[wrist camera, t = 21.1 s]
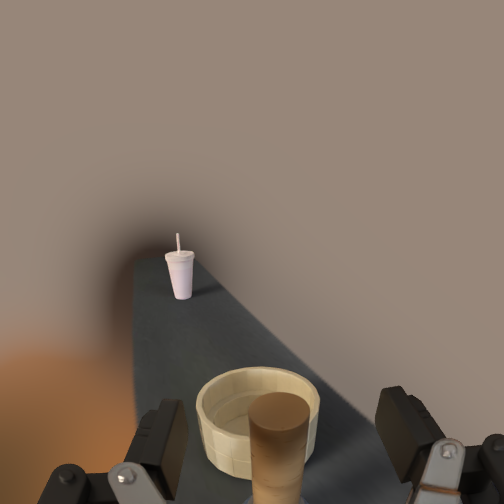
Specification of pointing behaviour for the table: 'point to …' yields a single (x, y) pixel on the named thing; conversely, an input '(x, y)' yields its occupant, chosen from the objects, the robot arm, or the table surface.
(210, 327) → the table surface
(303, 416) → the brush
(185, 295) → the smoothie
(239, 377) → the bowl
